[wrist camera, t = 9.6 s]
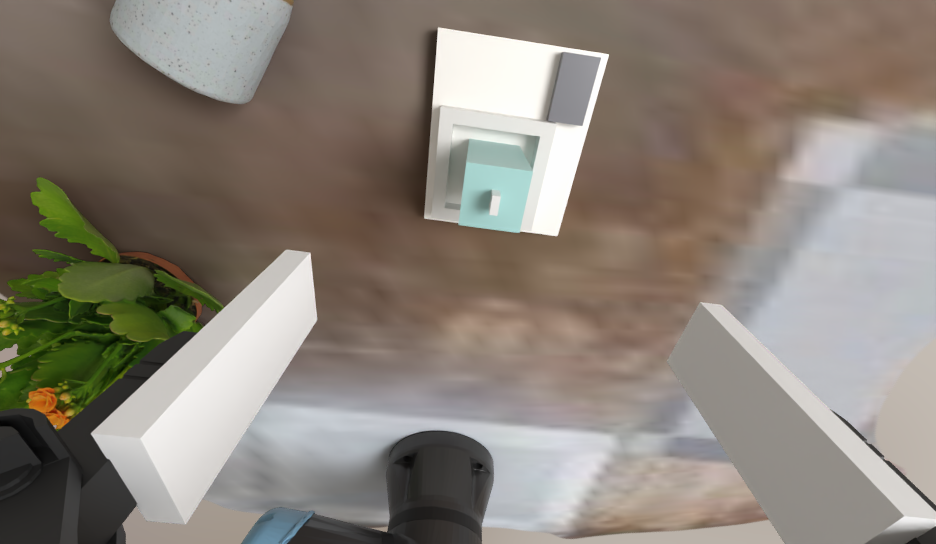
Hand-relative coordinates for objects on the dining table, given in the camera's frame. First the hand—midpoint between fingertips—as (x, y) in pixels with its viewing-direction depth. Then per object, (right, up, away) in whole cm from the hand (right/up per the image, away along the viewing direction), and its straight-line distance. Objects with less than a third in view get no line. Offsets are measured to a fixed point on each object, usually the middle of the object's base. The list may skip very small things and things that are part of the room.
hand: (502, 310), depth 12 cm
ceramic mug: (-18, +20, +13) cm, 30 cm away
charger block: (+1, +10, +17) cm, 19 cm away
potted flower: (-33, 0, +25) cm, 42 cm away
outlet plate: (+2, +12, +17) cm, 21 cm away
